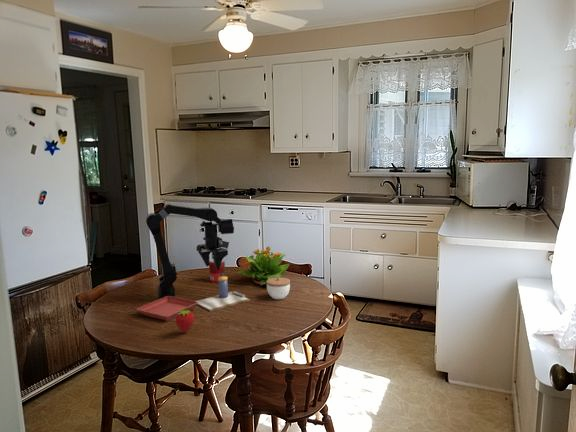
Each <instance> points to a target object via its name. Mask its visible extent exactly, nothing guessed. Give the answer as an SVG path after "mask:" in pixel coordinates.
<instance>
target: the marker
mask: <svg viewBox="0 0 576 432" xmlns="http://www.w3.org/2000/svg"><path fill="white" fill-rule="evenodd" d="M228 279H229V278H228V276H227V275H225V276H220V277H218V281H219V283H218V295H219V298H227V297H228V292H229V286H228V285H229V284H228Z"/></svg>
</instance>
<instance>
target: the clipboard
mask: <svg viewBox="0 0 576 432" xmlns="http://www.w3.org/2000/svg"><path fill="white" fill-rule="evenodd" d="M250 300H251V299H250V298H248V297H246V295H245V294H243V293H241V292H238V291H236V290H234V291H228V297H227V298H219V294H216V295H212V296H209V297H205V298H202V299H198V300H195V301H196V302H198V303H197V305H196V306H198V307H200V308H202V309H204V310H206V311H208V312H211V313H212V312H214V311H215V312H216V311H218V310H222V309H224V308H229V307H232V306H235V305H239V304H243V303H246V302H249V301H250Z"/></svg>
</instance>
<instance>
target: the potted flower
mask: <svg viewBox="0 0 576 432" xmlns="http://www.w3.org/2000/svg"><path fill="white" fill-rule="evenodd" d="M252 253H253V254H252V255H249V256H248V255H245V258H246V260H247V262H248V263H249V264H250V265H249V268H246V269H241V270H239V271H237V273H238V274H240V275H244V276H246V277H248V278H252V280H253V282H254V283H255V284H258V285H260V286H263V285H267V284H266V281H267V280H268V279H271V278H276V277H282V276H283V277H284V275H285V273H286V271H287V269H289V266H290V263H285V264H282V262H283V258H284V257H285V256H286V254H284V253H281V252H275V253H274V252H273V251H271V246H266V248H265V249H262V250H260V249H258V248H257V249H256V250H253V252H252Z"/></svg>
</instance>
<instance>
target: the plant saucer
mask: <svg viewBox="0 0 576 432" xmlns="http://www.w3.org/2000/svg"><path fill="white" fill-rule="evenodd" d="M196 301H197V300H190V299H185V298H182V297H176V296H174V297H172V296H166V297H164V298H161V299H157V300H154V301H152V302H148V303H147V304H145V305H142V306H139V307H137V308H136V311H137V312H138V313H140V314H142V316H146V317H150V318H153V319H154V318H155V319H159V320H163V321H167V322H169V321H171V320H173V319H176V317H177V316H178V313H181V312H179V311H183V310H184V311H187V310H188V311H192V310H193V309H194V308H195V307H196V306H198V305H197V303H198V302H196ZM185 307H186V308H185ZM184 308H185V309H184Z"/></svg>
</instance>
